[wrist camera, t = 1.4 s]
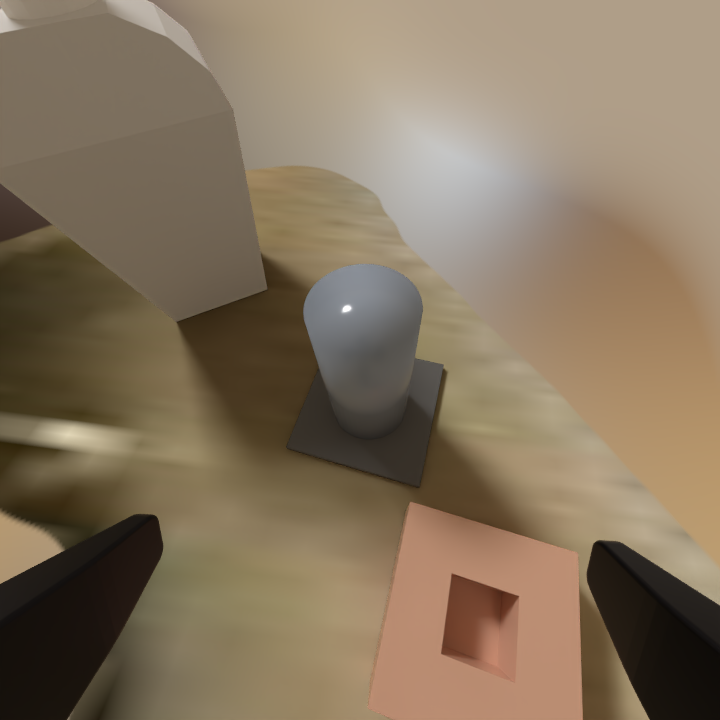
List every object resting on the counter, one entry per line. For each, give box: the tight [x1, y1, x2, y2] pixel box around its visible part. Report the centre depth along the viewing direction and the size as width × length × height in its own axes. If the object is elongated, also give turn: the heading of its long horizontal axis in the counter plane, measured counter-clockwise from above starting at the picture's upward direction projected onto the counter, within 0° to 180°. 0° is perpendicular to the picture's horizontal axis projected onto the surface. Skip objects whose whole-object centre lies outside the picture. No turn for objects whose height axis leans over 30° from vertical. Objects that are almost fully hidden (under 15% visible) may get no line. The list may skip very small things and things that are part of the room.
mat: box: [286, 358, 444, 488], centre depth 24 cm, size 9×9×1 cm
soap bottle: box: [0, 0, 267, 322], centre depth 21 cm, size 12×10×26 cm
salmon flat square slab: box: [368, 502, 583, 720], centre depth 16 cm, size 8×8×4 cm
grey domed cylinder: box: [303, 264, 423, 439], centre depth 19 cm, size 5×5×10 cm
